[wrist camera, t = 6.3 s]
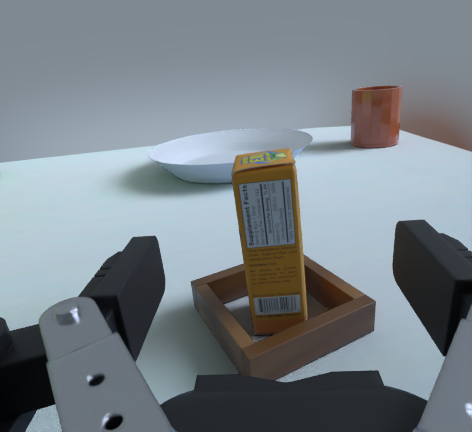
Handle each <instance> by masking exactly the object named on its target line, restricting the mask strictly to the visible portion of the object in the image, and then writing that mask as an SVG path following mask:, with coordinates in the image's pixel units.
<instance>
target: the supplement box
mask: <svg viewBox="0 0 472 432" xmlns="http://www.w3.org/2000/svg"><path fill="white" fill-rule="evenodd" d="M295 163H296V162H295V160H294V159H293V155H292V150H291V148H287V149H279V150H269V151H261V152H254V153H247V154H242V155H237V156H236V158H235V162H234V165H233V169H232V173H231V176H232V183H233V190H234V197H235V203H236V211H237V218H238V225H239V234H240V240H241V246H242V253H243V260H244V268H245V275H246V282H247V289H248V296H249V303H250V311H251V318H252V326H253V333H254V334H256V335H268V334H277V333H279V332H281V331H283V330H286V329H288V328H290V327H292V326H295V325H297V324H299V323H302V322H304V321H306V320H308V315H307V299H306V285H305V271H304V257H303V244H302V232H301V219H300V207H299V195H298V183H297V172H296V166H295Z"/></svg>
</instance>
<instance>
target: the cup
mask: <svg viewBox="0 0 472 432" xmlns="http://www.w3.org/2000/svg"><path fill="white" fill-rule="evenodd" d="M402 90H403V86H396V85H395V86H394V85H392V86H391V85H389V86H373V87H364V88H356V89H353V90H352V117H351V145H353V146H356V147H362V148H382V147H389V146H394V145H396V144H398V140H399V128H400V116H401V115H400V114H401V102H402Z"/></svg>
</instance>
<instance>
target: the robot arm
mask: <svg viewBox="0 0 472 432" xmlns="http://www.w3.org/2000/svg"><path fill="white" fill-rule="evenodd" d="M393 274H394V278H395V281H396V283H397V285H398V286H399V288H400V289H401V291H402V292H403V294H404V296H405V297H406V299H407V300H408V302H409V303H410V305H411V307H412V308H413V310H414V311H415V313H416V314H417V316H418V317H419V319H420V321H421V322H422V324H423V325H424V327H425V328H426V330H427V332H428V333H429V335H430V336H431V338H432V339H433V341H434V343H435V344H436V346H437V347H438V349H439V350H440V352H441V353H442V355H443V356H446V358H445V360H444V363H443V365H442V368H441V370H440V373H439V375H438V378H437V380H436V383H435V385H434V388H433V390H432V393H431V395H430V397H429V400H428V401H426V400H424V399H422V398H420V397H418V396H416V395H414V394H411V393H409V392H406V391H403V390H400V389H396V388H393V387H389V386H384V384H383V381H382V379H381V376H380V374H379V371H342V372H329V373H325V374H321V375H317V376H313V377H309V378H305V379H301V380H297V381H293V382H278V381H273V380H268V379H262V378H257V377H252V376H247V375H241V374H231V375H197V378H196V383H195V388H194V390H192V391H189V392H186V393H183V394H180V395H178V396H175V397H173V398H171V399H169V400H167V401H166V402H164V403H162V404H161V405H159V403H158V402H157V400H156V398H155V396H154V395H153V393H152V391H151V389H150V388H149V386H148V384H147V382H146V381H145V379H144V377H143V375H142V374H141V372H140V370H139V368H138V367H137V365H136V363H135V362H136V360H137V358H138V355H139V353H140V350H141V348H142V345H143V343H144V340H145V338H146V336H147V333H148V331H149V328H150V326H151V323H152V321H153V318H154V316H155V314H156V311H157V309H158V306H159V304H160V301H161V299H162V297H163V294H164V291H165V274H164V269H163V264H162V259H161V254H160V249H159V244H158V240H157V238H156V236H143V237H133V238H132V239H131V240H130V242H129V243H128V244H127V246H126V247H125V248H124V250H123V251H122V252H117V253H116V254H114V255H113V256H111V257H110V258H108V259H107V260H106V261H105V263H104V264H103V265H102V266H101V268H100V270H98V272H97V273H96V274H95V275H94V276H95V277H93V278H92V279H91V281H90V282H89V283H88V284H87V286H86V287H85V288H84V290H83V291H82V292H81V293H80V295H79V296H78V297H75V298H70V299H67V300H64V301H61V302H59V303H57V304H55V305H53V306H52V307H50V308H49V309H47V310H46V311H45V312H44V313H43V314H42V315H41V317H40V319H39V324H37V325H33V326H29V327H25V328H20V329H16V330H12V331H9V328H8V326H7V324H6V321H5V320H4V319H3V318H1V317H0V432H25V431H26V429H27V427H28V425H29V424H30V422H31V420H32V418H33V417H34V415H35V413H36V411H37V410H38V409H41V408H44V407H48V406H51V405H55V404H56V408H57V412H58V416H59V420H60V424H61V428H62V432H472V252H471V251H468V248H466V247H465V246H464V245H463V244H462V243H461V242H459V241H458V240H456V239H454V238H452V237H450V236H448V235H445V234H443V233H438V232H437V231H436V230H435V229H434V228H433V227H432V226H430V225H429V224H428V223H427V222H426V221H425V220H409V221H399V222H398V223H397V225H396V229H395V241H394V253H393Z"/></svg>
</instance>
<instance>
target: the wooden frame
mask: <svg viewBox="0 0 472 432" xmlns="http://www.w3.org/2000/svg"><path fill="white" fill-rule="evenodd" d="M303 257H304V271H305V285H306V291H307V292H308V293H309V294H311V295H312V296H313V297H315V298H316V299H317V300H318V301H320V302H321V303H322V304H324V305H325V306H326V307H327V308H329V309H330V310H329V311H326V312H324V313H322V314H320V315H317V316H315V317H313V318H311V319H308V320H306V321H304V322H302V323H299V324H297V325H295V326H292V327H290V328H288V329H286V330H283V331H281V332H279V333H277V334H274V335H272V336H270V337H268V338H265V339H263V340H261V341H258V342H256V343H255V342H254V341H253V340H252V339H251V337H250V336H249V335H248V334H247V333H246V331H245V330H244V329H243V328H242V326H241V325H240V324H239V323H238V322H237V320H236V319H235V318H234V317H233V315H232V314H231V313H230V312H229V311H228V309H227V308H226V307H225V306H224V303H227V302H230V301H232V300H235V299H237V298H240V297H243V296H245V295H248V289H247V282H246V275H245V268H244V264H241V265H238V266H235V267H232V268H229V269H226V270H223V271H220V272H217V273H214V274H211V275H209V276H206V277H203V278H200V279H197V280H194V281H191V287H192V293H193V299H194V305H195V308H196V309H197V311H198V312H199V314H200V315H201V316H202V318H203V319H204V321H205V322H206V324H207V325H208V327H209V328H210V330H211V331H212V333H213V334H214V336H215V337H216V339H217V340H218V341H219V343H220V344H221V346H222V347H223V349H224V350H225V352H226V353H227V355H228V356H229V358H230V359H231V361H232V362H233V364H234V365H235V366H236V368H237V369H238V371H239V372H240V374H241V375H247V376H252V377H257V378H262V379H268V380H273V381H274V380H276V379H278V378H280V377H282V376H284V375H286V374H288V373H290V372H292V371H294V370H296V369H298V368H300V367H302V366H304V365H306V364H308V363H310V362H312V361H314V360H316V359H318V358H320V357H322V356H324V355H326V354H328V353H330V352H332V351H334V350H336V349H338V348H340V347H342V346H344V345H346V344H348V343H350V342H352V341H354V340H356V339H358V338H360V337H362V336H364V335H366V334H368V333H370V332H372V331H374V322H375V306H376V301H374V300H373V299H371V298H370V297H368V296H367V295H364V293H362V292H361V291H359V290H357V289H356V288H354V287H353V286H351V285H350V284H348V283H347V282H345V281H344V280H342V279H341V278H339V277H337V276H336V275H334V274H333V273H331V272H330V271H328V270H327V269H325V268H324V267H322V266H320V265H319V264H317V263H316V262H314V261H313V260H311V259H310V258H308V257H307V256H305V255H304V254H303Z"/></svg>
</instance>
